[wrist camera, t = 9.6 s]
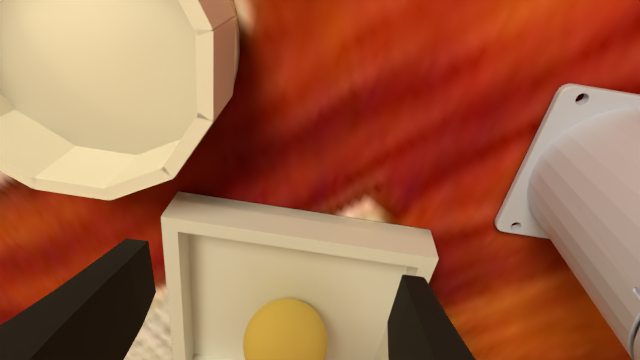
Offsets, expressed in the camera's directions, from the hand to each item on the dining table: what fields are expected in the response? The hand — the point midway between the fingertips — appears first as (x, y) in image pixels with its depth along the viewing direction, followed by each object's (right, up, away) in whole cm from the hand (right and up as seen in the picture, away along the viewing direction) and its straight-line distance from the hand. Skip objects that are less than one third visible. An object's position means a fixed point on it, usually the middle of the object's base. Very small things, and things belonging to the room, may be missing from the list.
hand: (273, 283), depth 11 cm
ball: (-1, -5, +13) cm, 14 cm away
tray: (0, -5, +14) cm, 15 cm away
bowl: (-8, +10, +6) cm, 14 cm away
